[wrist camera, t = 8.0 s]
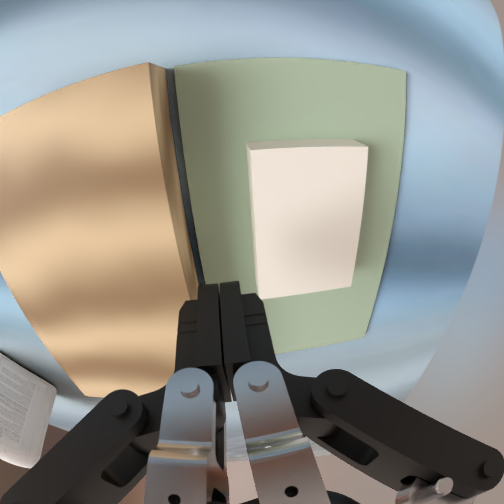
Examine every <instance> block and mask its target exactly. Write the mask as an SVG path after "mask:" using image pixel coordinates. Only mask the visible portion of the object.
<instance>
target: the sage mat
mask: <svg viewBox="0 0 504 504" xmlns="http://www.w3.org/2000/svg"><path fill="white" fill-rule="evenodd" d="M174 73H175V83H176V93H177V103H178V112H179V120H180V129H181V137H182V144H183V152H184V159H185V166H186V173H187V180H188V187H189V193H190V200H191V206H192V212H193V218H194V224H195V230H196V236H197V241H198V247H199V253H200V258H201V263H202V269H203V274H204V279H205V284H214V283H218V285H219V283H222V282H230V281H239V284H240V291H241V294H249V293H256V294H257V295H258V290H257V285H256V280H255V266H254V251H253V236H252V221H251V206H250V191H249V177H248V162H247V147H246V142H258V141H273V140H294V139H353V140H355V141H357V142H359V143H362V144H364V145H366V146H368V159H367V172H366V184H365V194H364V203H363V212H362V220H361V227H360V235H359V242H358V248H357V255H356V261H355V267H354V273H353V278H352V284H351V287H345V288H339V289H332V290H326V291H319V292H313V293H306V294H299V295H292V296H284V297H277V298H269V299H261V300H262V301H263V303H264V308H265V312H266V317H267V321H268V326H269V330H270V335H271V339H272V343H273V348H274V352H275V354H279V353H285V352H291V351H297V350H303V349H309V348H315V347H320V346H325V345H330V344H335V343H340V342H345V341H350V340H354V339H359V338H363V337H365V333H366V330H367V327H368V324H369V320H370V317H371V314H372V310H373V307H374V303H375V299H376V296H377V292H378V288H379V284H380V280H381V276H382V272H383V268H384V264H385V259H386V255H387V250H388V245H389V240H390V235H391V230H392V225H393V219H394V213H395V207H396V201H397V194H398V187H399V180H400V172H401V163H402V153H403V142H404V128H405V108H406V71H403V70H398V69H393V68H388V67H382V66H376V65H370V64H363V63H356V62H347V61H337V60H326V59H310V58H246V59H230V60H219V61H209V62H200V63H193V64H186V65H179V66H174ZM219 291H220V287H219ZM258 296H259V295H258Z"/></svg>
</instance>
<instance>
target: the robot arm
mask: <svg viewBox="0 0 504 504" xmlns="http://www.w3.org/2000/svg"><path fill="white" fill-rule="evenodd" d="M219 287H220V291H219ZM177 333H178V334H177V342H176V356H175V370H174V374H173V375H172V376H171V377H170V378H169V380H168V382H167V384H166V385H165V386H163V387H162V388H160V389H158V390H156V391H153V392H150V393H147V394H144V395H140V396H138V395H137V394H136V393H134V392H132V391H130V390H126V389H119V390H115V391H113V392H111V393H109V394H108V395H107V396H106V397H105V398H104V399H103V400H102V401H100V402H99V403H98V404H97V405H96V406H95V407H94V408H93V409H92V410H91V411H90V412H89V413H88V414H87V415H86V416H85V417H84V418H83V419H82V420H81V421H80V422H79V423H78V424H77V425H76V426H75V427H74V428H73V429H71V430H70V431H69V432H68V433H67V434H66V435H65V436H64V437H63V438H62V439H61V440H60V441H59V442H58V443H57V444H56V445H55V446H54V447H53V448H52V449H51V450H50V451H49V452H48V453H47V454H46V455H45V456H43V457H42V459H40V460H39V461H38V462H37V463H36V464H35V465H34V466H33V467H32V468H31V469H30V470H29V471H28V472H27V473H26V474H25V475H24V476H23V477H22V478H21V479H20V480H19V481H18V482H17V483H15V484H14V485H13V486H12V487H11V488H10V489H9V490H8V491H7V492H6V493H5V494H4V495H3V496H2V498H1V501H0V504H118V503H119V502H120V501H121V500H122V499H123V498H124V497H125V496H126V495H127V494H128V493H129V491H131V490H132V489H133V488H134V486H136V484H137V483H138V482H139V481H140V480H141V479H142V478H143V477H144V476H145V475H146V483H145V494H144V504H229V484H228V483H229V482H228V476H227V468H226V411H225V402H232V401H231V393H232V397H233V401H237V405H238V410H239V415H240V419H241V424H242V429H243V433H244V438H245V443H246V447H247V452H248V457H249V461H250V466H251V470H252V474H253V478H254V482H255V487H256V491H257V495H258V498H256V499H254V500H250V501H248V502H244V503H241V504H360V503H358V502H357V501H355V500H353V499H351V498H349V497H347V496H345V495H342V494H339V493H336V492H332V491H327V490H326V489H325V486H324V483H323V480H322V477H321V474H320V471H319V469H318V466H317V463H316V460H315V457H314V454H313V451H312V448H311V446H310V443H309V441H308V439H307V438H306V437H305V436H307V437H308V438H310V439H311V440H312V441H314V442H315V443H317V444H318V445H320V446H321V447H323V448H324V449H326V450H327V451H329V452H330V453H332V454H334V455H335V456H337V457H338V458H340V459H341V460H343V461H345V462H346V463H348V464H350V465H351V466H353V467H355V468H356V469H358V470H360V471H361V472H363V473H365V474H366V475H368V476H370V477H372V478H373V479H375V480H377V481H379V482H381V483H383V484H385V485H386V486H388V487H390V488H392V489H394V490H396V491H398V493H397V495H396V499H395V504H473V502H474V500H475V498H476V496H477V495H479V494H481V493H483V492H486V491H488V490H490V489H492V488H494V487H495V486H496V485H497V484H498V483H499V482H500V480H501V478H502V476H503V474H504V458H503V456H502V454H501V453H500V452H499V451H498V450H497V449H495V448H492V447H490V446H488V445H486V444H484V443H482V442H479V441H477V440H475V439H473V438H471V437H469V436H467V435H465V434H463V433H460V432H458V431H456V430H454V429H452V428H450V427H448V426H446V425H444V424H443V423H440V422H439V421H437V420H434V419H433V418H431V417H429V416H427V415H425V414H423V413H421V412H419V411H417V410H416V409H414V408H412V407H410V406H408V405H406V404H404V403H403V402H401V401H399V400H397V399H395V398H393V397H392V396H390V395H388V394H386V393H385V392H383V391H381V390H379V389H377V388H376V387H374V386H372V385H370V384H369V383H367V382H365V381H363V380H362V379H360V378H358V377H357V376H355V375H353V374H351V373H350V372H348V371H345V370H341V369H331V370H327V371H325V372H323V373H321V374H320V375H319V376H317V378H313V377H303V376H296V375H293V374H290V373H288V372H286V371H285V370H284V369H282V368H281V367H280V365H279V364H278V362H277V360H276V357H275V352H274V348H273V343H272V339H271V335H270V330H269V326H268V321H267V317H266V312H265V308H264V303H263V301H262V300H261V299H260V298H259V296H258V295H257V294H256V293H249V294H241V291H240V284H239V281H230V282H222V283H219V285H218V283H214V284H204V285H198V296H197V299H196V300H186V301H185V302H184V304H183V306H182V307H181V309H180V310H179V317H178V329H177ZM230 389H231V391H230Z"/></svg>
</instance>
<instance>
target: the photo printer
mask: <svg viewBox="0 0 504 504" xmlns="http://www.w3.org/2000/svg"><path fill="white" fill-rule="evenodd" d="M56 394H57V390H56V388H55V387H54V386H53V385H51V384H49V383H48V382H46V381H45V380H43V379H41V378H39V377H38V376H36V375H34V374H33V373H31V372H29V371H28V370H26V369H24V368H23V367H21V366H20V365H18V364H16V363H15V362H13V361H12V360H10V359H9V358H8V357H6V356H5V355H3V354H2V353H0V459H2V460H4V461H6V462H9V463H11V464H14V465H17V466H21V467H25V468H32V467H33V466H34V465H35V464H36V463H37V462H38V461H39V459H40V456H41V452H42V447H43V442H44V438H45V434H46V430H47V426H48V422H49V419H50V415H51V411H52V408H53V404H54V401H55V397H56Z"/></svg>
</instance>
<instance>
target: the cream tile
mask: <svg viewBox="0 0 504 504" xmlns="http://www.w3.org/2000/svg"><path fill="white" fill-rule="evenodd" d="M246 147H247V162H248V177H249V191H250V206H251V221H252V236H253V251H254V266H255V280H256V285H257V290H258V295H259V298H260V299H269V298H277V297H284V296H292V295H299V294H306V293H313V292H319V291H326V290H332V289H339V288H345V287H351V284H352V278H353V273H354V267H355V261H356V255H357V248H358V242H359V235H360V227H361V220H362V212H363V203H364V194H365V184H366V172H367V159H368V146H366V145H364V144H362V143H359V142H357V141H355V140H353V139H294V140H273V141H258V142H246Z"/></svg>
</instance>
